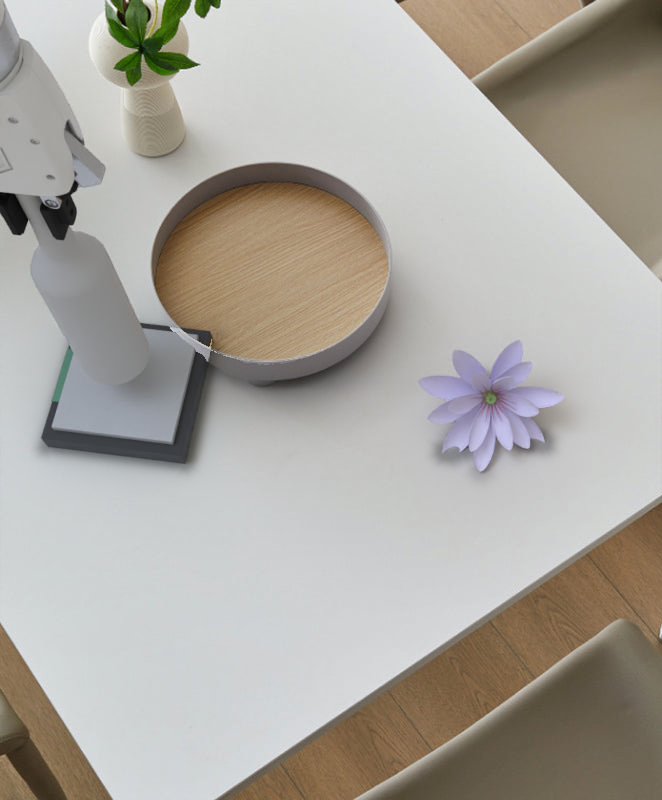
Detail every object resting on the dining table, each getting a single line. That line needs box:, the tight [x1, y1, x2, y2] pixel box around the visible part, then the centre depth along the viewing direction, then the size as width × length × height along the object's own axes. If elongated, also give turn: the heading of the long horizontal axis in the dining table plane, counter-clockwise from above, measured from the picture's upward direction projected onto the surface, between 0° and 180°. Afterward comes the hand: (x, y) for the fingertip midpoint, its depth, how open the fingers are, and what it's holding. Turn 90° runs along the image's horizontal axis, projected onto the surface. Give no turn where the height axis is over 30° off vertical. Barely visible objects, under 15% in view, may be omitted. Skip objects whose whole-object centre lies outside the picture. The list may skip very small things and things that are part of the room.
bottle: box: [15, 194, 150, 385], centre depth 85 cm, size 7×7×28 cm
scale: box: [40, 322, 214, 465], centre depth 103 cm, size 14×14×3 cm
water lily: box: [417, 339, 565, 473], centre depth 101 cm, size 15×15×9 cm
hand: (44, 220), depth 77 cm, fingers closed on bottle, 2 cm apart
